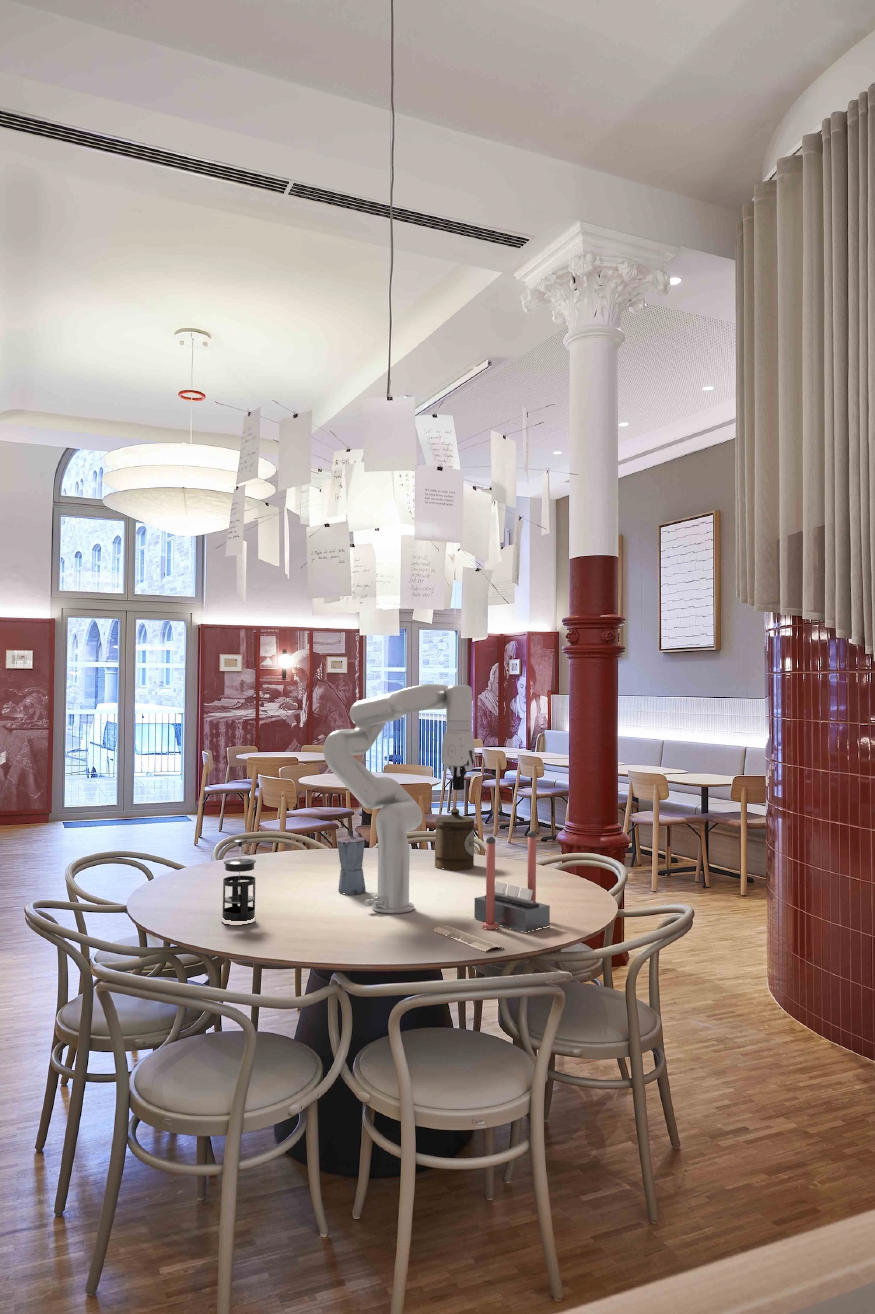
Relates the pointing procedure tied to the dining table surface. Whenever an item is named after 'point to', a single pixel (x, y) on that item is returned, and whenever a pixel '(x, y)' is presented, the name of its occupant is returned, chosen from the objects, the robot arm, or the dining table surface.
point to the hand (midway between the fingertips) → (458, 789)
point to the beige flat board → (465, 937)
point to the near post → (490, 885)
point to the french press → (242, 898)
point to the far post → (532, 863)
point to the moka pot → (351, 864)
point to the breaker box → (515, 913)
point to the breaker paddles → (513, 892)
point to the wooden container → (454, 842)
